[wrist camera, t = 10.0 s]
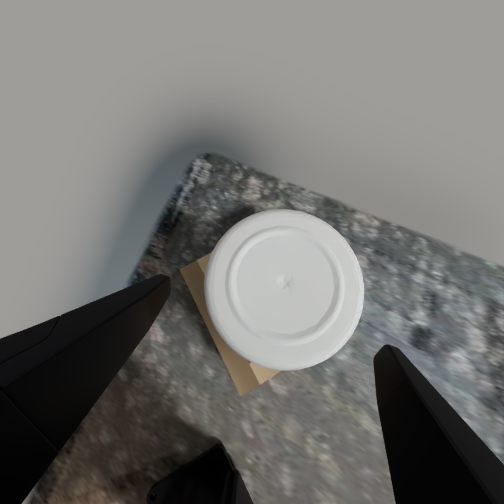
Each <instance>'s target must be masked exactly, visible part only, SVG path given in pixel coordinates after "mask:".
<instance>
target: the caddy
mask: <svg viewBox="0 0 504 504" xmlns="http://www.w3.org/2000/svg"><path fill="white" fill-rule="evenodd" d="M211 253H212V252H211ZM211 253H209V254H207V255H205V256H204V257H202V258H200V259H198V260H196V261H194V262H192V263H190V264H189V265H187V266H185V267H183V268H181V269H180V272H181V274H182V276H183V278H184V280H185V282H186V284H187V286H188V288H189V290H190V292H191V294H192V296H193V299H194V301H195V303H196V305H197V307H198V309H199V311H200V313H201V315H202V317H203V319H204V321H205V323H206V326H207V328H208V330H209V332H210V334H211V336H212V338H213V340H214V342H215V344H216V346H217V348H218V350H219V353H220V355H221V357H222V359H223V361H224V363H225V365H226V367H227V369H228V371H229V373H230V375H231V377H232V380H233V382H234V384H235V386H236V388H237V390H238V392H239V394H240V396H242V395H244V394H246V393H247V392H249V391H250V390H252V389H254V388H255V387H257V386H258V385H260V384H262V383H263V382H265V381H266V380H268V379H270V378H271V377H273V376H274V375H276V374H278V373H279V372H281V371H282V370H275V369H270V368H266V367H262V366H259V365H256V364H254V363H252V362H250V361H248V360H247V359H245V358H243V357H242V356H240V355H239V354H237V353H236V352H235V351H234V350H233V349H231V348H230V347H229V346H228V345H227V344H226V342H225V341H224V340H223V339H222V338H221V336H220V335H219V333H218V332H217V330H216V329H215V327H214V325H213V323H212V321H211V318H210V316H209V314H208V310H207V306H206V302H205V294H204V278H205V272H206V267H207V264H208V261H209V258H210V255H211ZM359 322H361V321H360V319H359ZM359 322H358V323H359Z"/></svg>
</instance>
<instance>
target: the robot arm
mask: <svg viewBox="0 0 504 504" xmlns="http://www.w3.org/2000/svg"><path fill="white" fill-rule="evenodd" d="M169 295H170V277H169V276H166V275H163V274H159V275H156V276H154V277H151V278H149V279H147V280H144V281H142V282H139V283H137V284H134V285H132V286H130V287H127V288H125V289H122V290H120V291H118V292H115V293H113V294H110V295H108V296H106V297H104V298H101V299H98V300H96V301H94V302H91V303H89V304H86V305H84V306H81V307H79V308H77V309H74V310H72V311H69V312H67V313H65V314H62V315H61V316H57V317H55V318H53V319H50V320H48V321H45V322H43V323H40V324H38V325H35V326H33V327H30V328H28V329H25V330H23V331H20V332H17V333H14V334H12V335H9V336H6V337H3V338H1V339H0V504H22V502H23V501H24V500H25V498H26V497H27V496H28V494H29V493H30V492H31V490H32V489H33V487H34V486H35V485H36V483H37V482H38V481H39V479H40V478H41V477H42V475H43V474H44V472H45V471H46V470H47V468H48V467H49V466H50V464H51V463H52V462H53V460H54V459H55V457H56V456H57V455H58V453H59V451H60V450H61V449H62V448H63V446H64V445H65V444H66V442H67V441H68V439H69V438H70V437H71V435H72V434H73V433H74V431H75V430H76V429H77V427H78V426H79V424H80V423H81V422H82V420H83V419H84V418H85V416H86V415H87V414H88V412H89V411H90V409H91V408H92V407H93V405H94V404H95V403H96V401H97V400H98V399H99V397H100V396H101V394H102V393H103V392H104V390H105V389H106V388H107V386H108V385H109V384H110V382H111V381H112V379H113V378H114V377H115V375H116V374H117V373H118V371H119V370H120V368H121V367H122V366H123V364H124V363H125V362H126V360H127V359H128V358H129V356H130V355H131V353H132V352H133V351H134V349H135V348H136V347H137V345H138V344H139V343H140V341H141V340H142V338H143V337H144V336H145V334H146V333H147V332H148V330H149V329H150V327H151V326H152V324H153V322H154V321H155V319H156V317H157V316H158V314H159V312H160V310H161V309H162V307H163V305H164V304H165V302H166V300H167V298H168V297H169ZM374 374H375V386H376V397H377V405H378V411H379V416H380V422H381V427H382V432H383V438H384V443H385V448H386V454H387V459H388V465H389V470H390V475H391V481H392V486H393V492H394V497H395V502H396V504H504V464H503V463H502V462H501V461H500V460H499V459H498V458H497V457H496V455H495V454H494V453H493V452H492V451H491V450H490V449H489V448H488V447H487V446H486V444H485V443H484V442H483V441H482V440H481V439H480V438H479V437H478V436H477V434H476V433H475V432H474V431H473V430H472V429H471V428H470V427H469V426H468V425H467V423H466V422H465V421H464V420H463V419H462V418H461V417H460V416H459V415H458V413H457V412H456V411H455V410H454V409H453V408H452V407H451V406H450V405H449V404H448V402H447V401H446V400H445V399H444V398H443V397H442V396H441V395H440V394H439V392H438V391H437V390H436V389H435V388H434V387H433V386H432V385H431V384H430V382H429V381H428V380H427V379H426V378H425V377H424V376H423V375H422V374H421V373H420V371H419V370H418V369H417V368H416V367H415V366H414V365H413V364H412V363H411V361H410V360H409V359H408V358H407V357H406V356H405V355H404V354H403V353H402V352H401V350H400V349H399V348H397V347H394V346H391V345H384V346H383V347H382V348H381V349H380V350H379V351H378V353H377V354H376V355H375V357H374ZM217 451H220V452H221V455H217V453H216V452H217ZM152 493H155V494H156V496H153V494H152ZM147 502H148V504H253V502H252V500H251V497H250V495H249V493H248V491H247V488H246V486H245V484H244V482H243V480H242V477H241V475H240V473H239V471H237V470H236V469H235V470H234V468H233V465H232V463H231V461H230V459H229V456H228V454H227V452H226V449H225V447H224V446H223V445H222V444H217V445H215V446H213V447H212V448H210V449H209V450H207V451H206V452H204V453H203V454H201V455H200V456H198V457H196V458H195V459H193V460H192V461H190V462H189V463H187V464H186V465H184V466H182V467H181V468H179V469H178V470H176V471H175V472H173V473H172V474H170V475H168V476H167V477H165V478H164V479H162V480H161V481H159V482H158V483H156V484H154V485H153V486H152V487H151V488H150V490H149V492H148V494H147Z"/></svg>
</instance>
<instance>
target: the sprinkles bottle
mask: <svg viewBox="0 0 504 504" xmlns="http://www.w3.org/2000/svg"><path fill="white" fill-rule="evenodd" d="M204 294H205V302H206V306H207V310H208V314H209V316H210V318H211V321H212V323H213V325H214V327H215V329H216V330H217V332H218V333H219V335H220V336H221V338H222V339H223V340H224V341H225V342H226V344H227V345H228V346H229V347H230V348H231V349H233V350H234V351H235V352H236V353H237V354H239V355H240V356H242V357H243V358H245V359H247V360H248V361H250V362H252V363H254V364H256V365H259V366H262V367H266V368H270V369H275V370H298V369H303V368H308V367H311V366H314V365H316V364H318V363H321V362H323V361H325V360H326V359H328V358H330V357H331V356H332V355H334V354H335V353H336V352H337V351H339V350H340V349H341V348H342V347H343V346H344V344H345V343H346V342H347V341H348V339H349V338H350V337H351V335H352V334H353V332H354V330H355V328H356V326H357V324H358V322H359V319H360V316H361V312H362V308H363V300H364V285H363V277H362V273H361V269H360V266H359V263H358V260H357V258H356V256H355V254H354V252H353V250H352V249H351V247H350V246H349V245H348V243H347V242H346V240H345V239H344V238H343V237H342V236H341V235H340V234H339V233H338V232H337V231H336V230H335V229H334V228H333V227H331V226H330V225H329V224H327V223H326V222H324V221H322V220H321V219H319V218H317V217H315V216H313V215H310V214H307V213H304V212H301V211H295V210H288V209H275V210H267V211H262V212H259V213H255V214H253V215H250V216H248V217H246V218H245V219H243V220H241V221H239V222H238V223H236V224H235V225H234V226H232V227H231V228H230V229H229V230H228V231H227V232H226V233H225V234H224V235H223V236H222V237H221V239H220V240H219V242H218V243H217V245H216V246H215V248H214V250H213V251H212V253H211V255H210V258H209V261H208V264H207V267H206V272H205V278H204Z"/></svg>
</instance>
